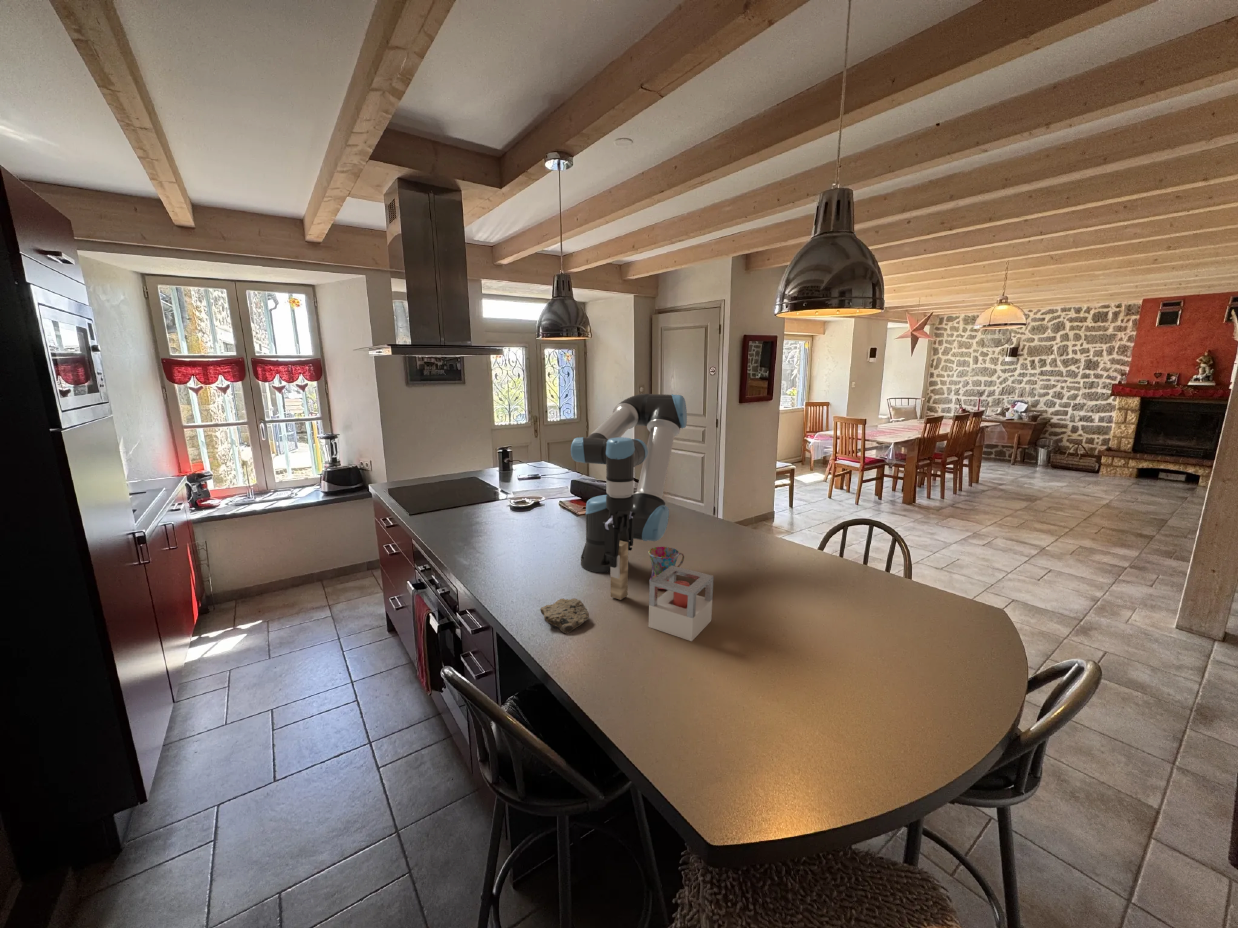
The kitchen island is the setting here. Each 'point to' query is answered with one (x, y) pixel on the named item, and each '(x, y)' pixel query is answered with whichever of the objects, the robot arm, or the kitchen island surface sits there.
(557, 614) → the rock
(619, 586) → the tall wooden block
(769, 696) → the kitchen island surface
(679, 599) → the red dome button
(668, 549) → the mug
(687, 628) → the box
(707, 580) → the frame
